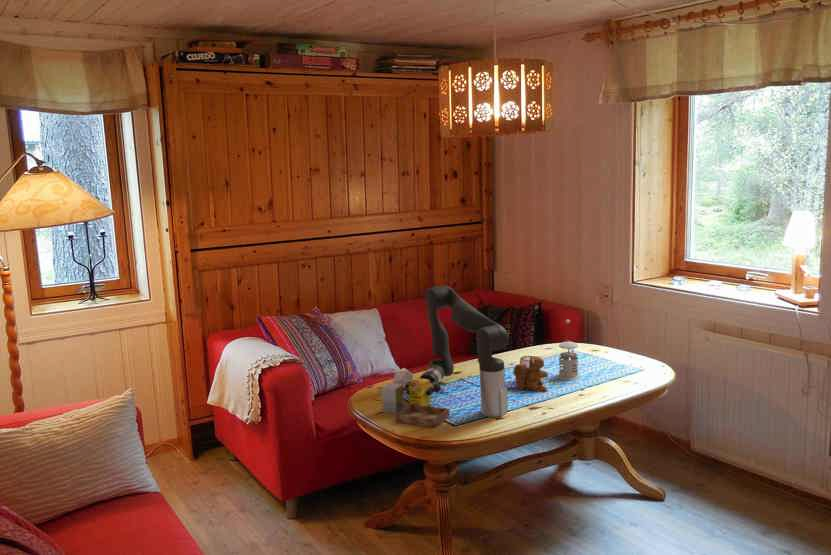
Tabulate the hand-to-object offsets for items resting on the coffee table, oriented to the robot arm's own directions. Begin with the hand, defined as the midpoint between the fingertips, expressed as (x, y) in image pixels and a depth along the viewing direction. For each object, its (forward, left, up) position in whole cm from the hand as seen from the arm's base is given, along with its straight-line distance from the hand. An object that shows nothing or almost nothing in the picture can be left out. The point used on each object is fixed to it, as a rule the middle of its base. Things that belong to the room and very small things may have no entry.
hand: (417, 392), depth 272 cm
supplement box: (0, -2, -7) cm, 7 cm away
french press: (-43, -58, -7) cm, 72 cm away
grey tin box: (+8, +5, -7) cm, 12 cm away
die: (+18, -21, -7) cm, 29 cm away
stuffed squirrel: (-32, -38, -7) cm, 50 cm away
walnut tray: (-7, +9, -7) cm, 13 cm away
